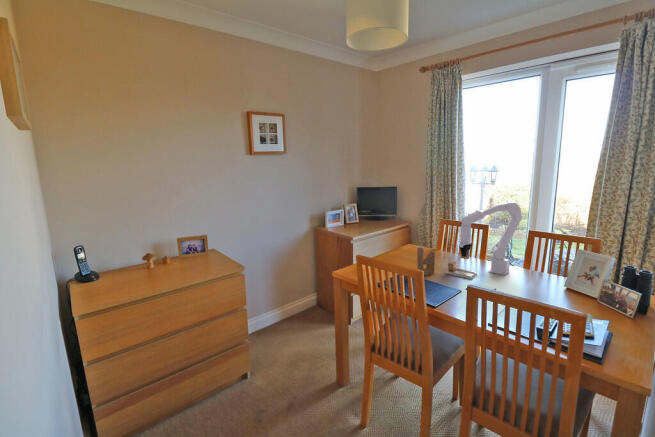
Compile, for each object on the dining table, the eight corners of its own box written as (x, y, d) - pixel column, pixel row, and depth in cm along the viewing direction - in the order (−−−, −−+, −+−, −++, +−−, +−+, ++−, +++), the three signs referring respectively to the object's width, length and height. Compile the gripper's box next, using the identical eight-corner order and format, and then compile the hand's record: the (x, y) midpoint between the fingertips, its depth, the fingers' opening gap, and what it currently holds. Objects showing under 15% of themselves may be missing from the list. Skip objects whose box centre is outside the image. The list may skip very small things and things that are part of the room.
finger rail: (476, 275, 184) (477, 264, 183) (471, 279, 179) (472, 269, 177) (452, 269, 195) (452, 259, 193) (446, 273, 189) (446, 263, 188)
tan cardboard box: (462, 256, 196) (462, 248, 195) (469, 258, 193) (469, 249, 192) (460, 258, 194) (460, 249, 193) (467, 259, 191) (467, 251, 190)
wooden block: (434, 274, 189) (434, 246, 186) (419, 276, 186) (419, 248, 183) (430, 272, 193) (431, 244, 189) (415, 274, 190) (415, 247, 186)
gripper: (463, 231, 198) (463, 251, 201) (454, 236, 188) (454, 257, 191) (475, 232, 193) (474, 253, 196) (466, 238, 183) (465, 259, 186)
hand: (465, 255), depth 193 cm, fingers closed on tan cardboard box, 3 cm apart
